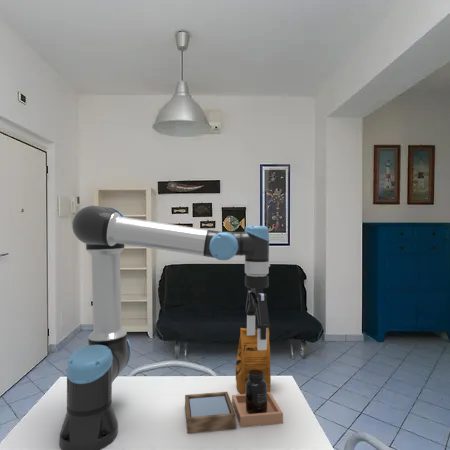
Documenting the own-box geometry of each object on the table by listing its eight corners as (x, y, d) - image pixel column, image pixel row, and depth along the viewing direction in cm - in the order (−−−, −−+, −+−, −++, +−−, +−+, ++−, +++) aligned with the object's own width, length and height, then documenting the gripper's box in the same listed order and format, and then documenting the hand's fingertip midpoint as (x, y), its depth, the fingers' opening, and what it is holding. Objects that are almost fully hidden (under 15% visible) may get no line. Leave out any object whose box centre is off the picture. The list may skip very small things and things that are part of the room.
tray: (240, 427, 98) (240, 416, 98) (232, 404, 111) (232, 395, 111) (282, 423, 100) (282, 413, 100) (269, 400, 113) (270, 392, 113)
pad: (191, 422, 97) (191, 418, 97) (189, 401, 108) (189, 398, 108) (230, 418, 98) (230, 415, 98) (224, 399, 110) (224, 396, 110)
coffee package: (234, 382, 127) (235, 324, 127) (267, 381, 127) (267, 323, 127) (237, 395, 117) (237, 332, 117) (272, 394, 117) (272, 331, 117)
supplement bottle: (267, 405, 109) (267, 368, 109) (267, 417, 102) (267, 377, 102) (245, 404, 109) (246, 367, 109) (244, 416, 103) (244, 376, 103)
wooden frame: (187, 433, 95) (187, 419, 95) (184, 407, 109) (184, 394, 109) (235, 428, 97) (235, 414, 97) (227, 403, 111) (227, 391, 111)
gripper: (281, 280, 94) (280, 356, 94) (257, 269, 119) (257, 329, 119) (255, 281, 93) (254, 357, 93) (237, 269, 118) (236, 330, 117)
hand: (256, 342), depth 106 cm, fingers open, 13 cm apart
